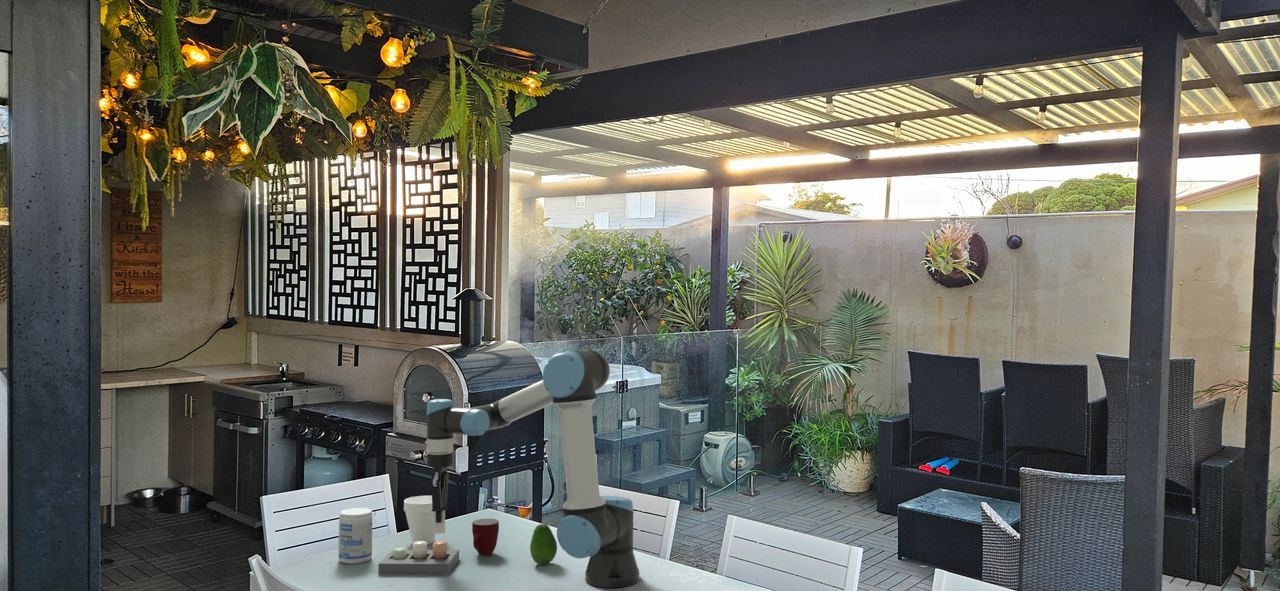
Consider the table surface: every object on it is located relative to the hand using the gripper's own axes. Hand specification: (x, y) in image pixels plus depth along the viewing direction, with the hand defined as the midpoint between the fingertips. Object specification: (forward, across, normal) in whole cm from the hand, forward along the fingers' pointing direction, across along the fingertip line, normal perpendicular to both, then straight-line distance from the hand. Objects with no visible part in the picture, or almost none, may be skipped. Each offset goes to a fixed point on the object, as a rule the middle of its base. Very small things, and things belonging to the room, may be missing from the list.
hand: (439, 532), depth 255 cm
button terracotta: (+7, 0, 0) cm, 7 cm away
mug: (+10, -12, +11) cm, 19 cm away
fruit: (+10, -3, +30) cm, 32 cm away
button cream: (+7, 0, -6) cm, 9 cm away
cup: (+10, -26, -12) cm, 31 cm away
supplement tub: (+10, -6, -27) cm, 30 cm away
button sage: (+9, 0, -12) cm, 15 cm away
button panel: (+10, 0, -6) cm, 12 cm away
